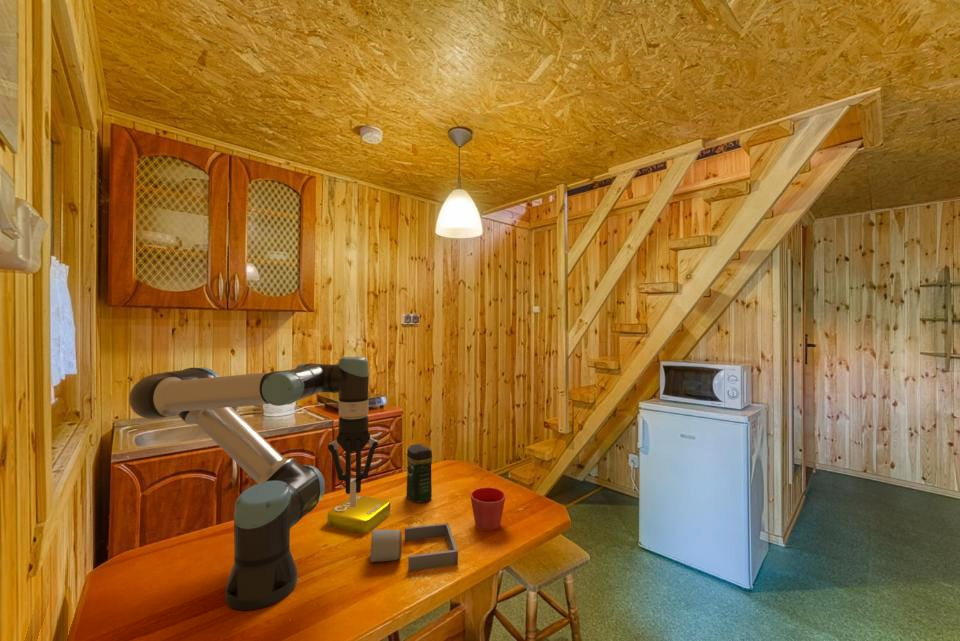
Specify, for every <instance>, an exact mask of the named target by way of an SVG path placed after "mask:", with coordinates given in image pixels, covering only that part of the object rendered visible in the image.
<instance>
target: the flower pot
mask: <svg viewBox="0 0 960 641" xmlns="http://www.w3.org/2000/svg"><path fill="white" fill-rule="evenodd" d="M470 500H471V507H472V515H473V519H474V524H475V527H476V528H477V529H478V528H479V530H480V529H481V531H483V530H485V531H487V532H493V531H495V529H496V530H498V529H499V528H500V527H499V526H501V523H502V518H503V512H504V505H505V501H506V494H505V492H504V491H503V490H501V489H499V488H495V487H488V486H487V487H479V488H475V489H474V490H472V491H471V493H470ZM497 528H498V529H497ZM492 530H493V531H492ZM485 531H484V532H485Z"/></svg>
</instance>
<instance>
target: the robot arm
mask: <svg viewBox="0 0 960 641" xmlns="http://www.w3.org/2000/svg"><path fill="white" fill-rule="evenodd" d="M369 370H370V369H369V360H368V358H366V357H364V356H344V357H341V358H339V360H338V363H337V364H326V363H324V364H323V363H313V362H311V363H300V364H299V365H297V366H296V367H295V368H292V369H287V370H279V371H278V370H277V371H269V372H268V371H267V372H257V373H247V374H236V375H235V374H234V375H223V376H220V375H219V374H218V373H217V372H216V371H215V370H213V369H211V368H208V367H189V368H184V369H180V370H174V371H167V372H159V373H158V372H157V373H153V374H150V375H147V376H144V377H143V378H142V379H140V380H139V381H137V382H136V383H135V384H134V385H133V387H132V388H131V390H130V393H129V396H128V402H129V406H130V408H131V410H132V411H133V412H134V413H135V414H136V415H138V416H139V417H141V418H143V419H149V420H160V419H164V418H169V417H170V418H171V417H175V416H178V417H179V418H180V419H181V420H182V421H183V422H184V423H185V424H186V425H197V426H198V427H199V428H200V429H201V430H202V431H204V432H205V434H207V436H209V438H210V439H211V440H212V441H214V442H215V444H216V445H218V447H220V448H221V449H222V450H223V451H224V452H225V453H226V454H227V455H228V456H229V457H230V458H231V459H232V460H233V461H234V463H236V464H237V465H238V466H239V467H240V468H241V469H242V470H243V471H244V472H245V473H246V474H247V475H248V476H250V478H251V479H252V480H254V482H256V484H254V485H252V486H249V487H248V488H246V489H245V490H244V491H242V492H241V494H240V495H239V496H238V497H237V498H236V501H235V505H234V511H233V521H234V523H233V526H234V528H233V530H234V535H233V537H234V538H233V540H234V541H233V542H234V548H233V549H234V551H233V552H234V553H233V554H234V558H233V559H234V560H233V564H232V568H231V571H230V574H229V576H228V579H227V582H226V586H225V591H224V594H225V595H224V599H225V600H224V601H225V603H226V605H227V606H228V607H229V608H231V609H234V610H239V611H254V610H258V609H259V610H260V609H262V608H266V607H269V606H271V605H273V604H276V603H277V602H279V601H281V600H283V599H284V598H286V597H287V596H288V595H290V593H292V592H293V590H294V589H295V587H296V586H297V582H298V568H297V565H296V563H295V560H294V556H293V555H292V553H291V549H290V547H291V546H290V544H291V542H290V541H291V540H290V539H291V538H290V536H291V534H290V533H291V528H293V527H294V526H295V525H296V524H297V523H299V521H301V520H302V519H303V518H304V517H306V515H307V514H309V513H311V512H312V511H313V510H314V509H315V508H317V505H318V504H319V503H320V502H321V501H322V500H323V497H324V494H325V491H326V488H325V486H326V483H325V479H324V476H323V474H322V472H321V471H320V470H319V469H318V468H317V467H316V466H313V465H311V464H310V465H306V464H303V465H301V464H300V463H299V462H298V461H297V459H295V458H293V457H291V458H290V457H289V458H286V457H284V456H283V455H281V453H280V452H279V451H277V450H276V448H275V447H273V446H272V445H271V444H270V443H269V442H268V440H266V439H265V438H264V437H263V436H262V435H261V434H260V433H259V432H258V431H257V430H256V429H255V428H254V427H253V426H252V425H250V423H248V422H247V421H246V420H245V418H243V417H242V415H240V414H239V413H238V412H237V411H236V410H235V409H234V407H235V408H236V407H244V406H245V407H247V406H255V405H258V406H259V405H268V404H269V405H270V404H271V405H272V406H276V407H277V406H278V407H279V406H280V407H281V406H286V405H292V404H293V403H295V402H298V401H301V400H302V399H306V398H308V397H311V396H314V395H316V394H320V393H321V394H327V393H328V394H330V393H333V394H338V415H339V418H338V434H337V436H336V439H335V440H333V441H331V442H329V443H328V445H327V449H328V450H329V452H330V453H331V455H332V456H331V457H332V458H333V459H332V460H333V463H334V467H335V468H334V469H335V472H336V475H337V479H338V481H343V482H345V493H346V495H348V494H349V498H350V507H356V495H357V494H359V493H361V490H362V489H361V488H362V480H363V479H367V478H368V476H369V473H370V468H371V465H372V461H373V456H374V453H375V451H376V449H377V448H378V446H379V440H378V439H374V438H373V437H371V433H370V432H369V416H368V414H369V410H370V409H369V404H370V403H369V400H370V399H369V389H370V388H369V386H370V385H369V384H370V383H369V380H370V377H369V376H370V372H369ZM367 444H368V447H369V449H368V453H367V457H366V461H365V465H364V470H363V471H362V450H363V449H364V448H365V447H366V445H367ZM339 446H340V447H341V449H342V451H345V473H344V470H343V466H342V462H341V457H340V453H339V450H338V448H339ZM352 453H355V478H354V477H353V478H351V477H352Z"/></svg>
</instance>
